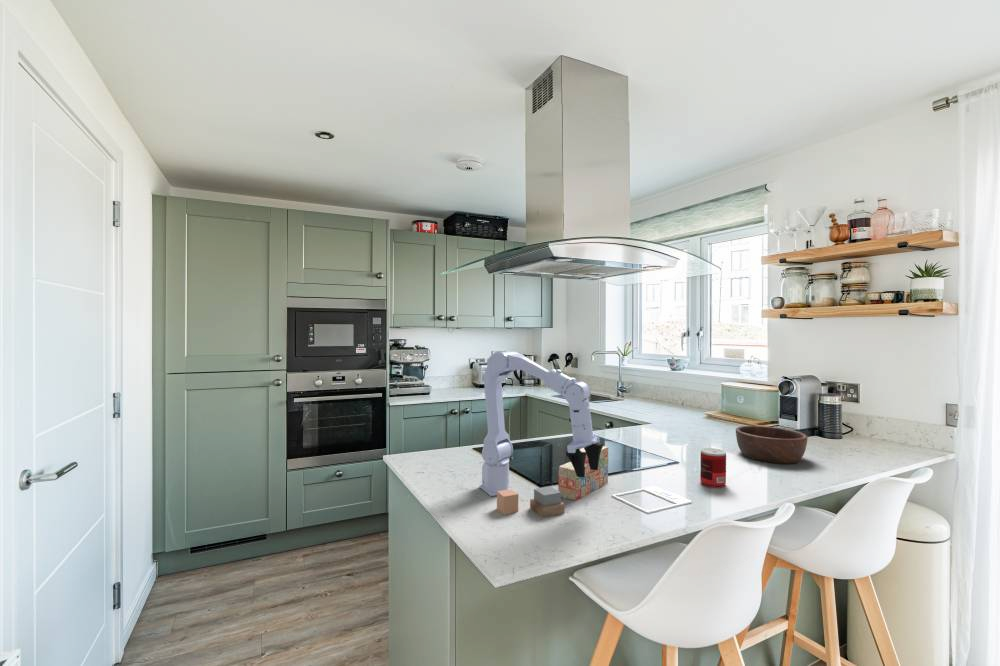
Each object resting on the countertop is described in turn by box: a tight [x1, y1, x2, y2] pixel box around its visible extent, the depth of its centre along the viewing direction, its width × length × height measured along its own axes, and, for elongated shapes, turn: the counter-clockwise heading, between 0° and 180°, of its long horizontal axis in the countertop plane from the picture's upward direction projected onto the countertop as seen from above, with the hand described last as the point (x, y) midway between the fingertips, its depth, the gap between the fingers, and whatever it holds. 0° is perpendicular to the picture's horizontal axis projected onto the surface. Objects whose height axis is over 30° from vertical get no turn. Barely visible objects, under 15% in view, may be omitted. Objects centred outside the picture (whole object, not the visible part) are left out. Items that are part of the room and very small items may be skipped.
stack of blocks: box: [557, 445, 609, 501], centre depth 147 cm, size 21×6×12 cm, turn 141°
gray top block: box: [533, 485, 562, 506], centre depth 129 cm, size 6×6×3 cm
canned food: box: [700, 447, 727, 489], centre depth 153 cm, size 8×8×11 cm
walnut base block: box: [529, 498, 566, 518], centre depth 129 cm, size 7×7×3 cm
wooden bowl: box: [735, 425, 808, 465], centre depth 186 cm, size 25×25×10 cm
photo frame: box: [611, 485, 693, 515], centre depth 138 cm, size 15×1×18 cm
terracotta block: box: [496, 488, 519, 515], centre depth 129 cm, size 4×4×5 cm
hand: (587, 473), depth 129 cm, fingers open, 7 cm apart
